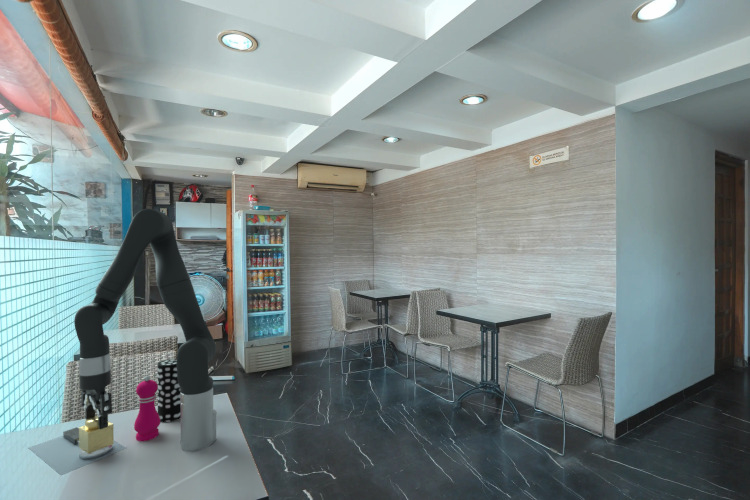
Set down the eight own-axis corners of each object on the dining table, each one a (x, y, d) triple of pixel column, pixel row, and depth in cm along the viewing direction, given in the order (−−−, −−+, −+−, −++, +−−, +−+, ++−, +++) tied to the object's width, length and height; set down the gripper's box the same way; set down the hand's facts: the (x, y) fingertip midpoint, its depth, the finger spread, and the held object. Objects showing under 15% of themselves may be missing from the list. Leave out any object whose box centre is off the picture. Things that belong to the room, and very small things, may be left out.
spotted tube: (154, 423, 129) (154, 366, 129) (161, 413, 137) (161, 359, 137) (180, 420, 131) (180, 364, 131) (186, 410, 139) (185, 357, 139)
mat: (90, 427, 126) (90, 426, 126) (126, 449, 112) (126, 447, 112) (27, 449, 113) (27, 447, 113) (60, 476, 99) (60, 475, 99)
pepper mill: (165, 432, 123) (164, 372, 123) (150, 443, 115) (149, 380, 115) (145, 431, 123) (144, 371, 123) (128, 442, 116) (128, 379, 116)
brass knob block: (104, 438, 114) (103, 412, 114) (113, 443, 111) (113, 417, 111) (79, 447, 109) (78, 420, 109) (88, 453, 106) (87, 426, 105)
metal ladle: (84, 429, 124) (84, 413, 124) (117, 449, 111) (117, 431, 111) (54, 440, 117) (54, 423, 117) (86, 463, 104) (85, 443, 104)
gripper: (120, 370, 109) (122, 425, 109) (99, 363, 117) (100, 414, 117) (90, 378, 103) (92, 436, 103) (70, 370, 110) (71, 424, 110)
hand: (96, 424), depth 110 cm, fingers open, 8 cm apart
